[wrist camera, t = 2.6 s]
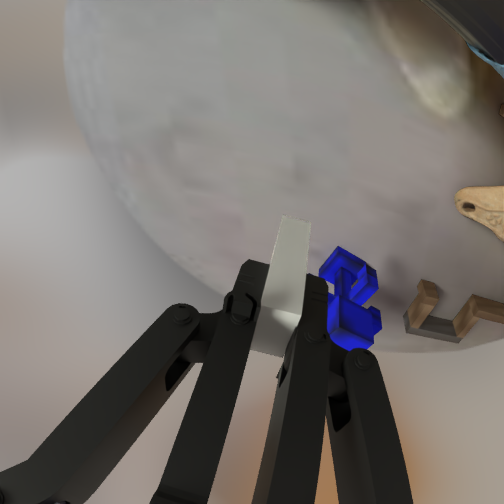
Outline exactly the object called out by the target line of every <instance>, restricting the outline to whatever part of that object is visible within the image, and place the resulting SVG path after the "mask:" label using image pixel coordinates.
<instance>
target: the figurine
mask: <svg viewBox="0 0 504 504" xmlns="http://www.w3.org/2000/svg"><path fill="white" fill-rule="evenodd" d="M309 274H310V273H309ZM310 275H312V274H310ZM319 277H321V278H324V279H325V280H326V281H328V282H330V283H332V284H334V295H333V294H331V293H329V292H328V317H327V331H328V333H329V335H330V338H331V339H332V341H333V342H334V343H336V344H337V345H339V346H340V347H342V348H344V349H346V350H348V351H351V350H352V349H353V348H365V349H368V348H369V347H370V346H371V345H373V344H374V335H375V334H376V333H378V332H379V331H380V330H381V329H382V323H381V314H380V310H378V309H376V308H375V307H373V306H370V307H369V308H368V309H366V308H364V307H362V305H363V304H364V303H365V302H366V301H367V300H368V299H369V298H370V297H371V296H372V295H373V294H374V293H375V292H376V291H377V290H378V289H379V287H378V281H377V274H376V270H374V269H373V268H371V267H369V266H367V265H366V262H365V261H363V260H361V259H360V258H358V257H356V256H354V255H353V254H351V253H349V252H348V251H346V250H344V249H342V248H341V247H339V246H338V247H337V248H336V249H335V250H334V252H333V253H332V254H331V255H330V256H329V258H328V259H327V260H326V261H325V263H324V264H323V265H322V266H321V267H320V269H319ZM357 279H358V283H357V284H356V285H355V286H354V287H353V288H351V285H352V284H353V283H354V282H355V281H356V280H357Z"/></svg>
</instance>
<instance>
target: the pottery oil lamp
mask: <svg viewBox="0 0 504 504" xmlns="http://www.w3.org/2000/svg"><path fill="white" fill-rule="evenodd" d="M454 201H455V205H456V208H457V209H458V211H459V212H460V213H461V214H462V215H464V216H466V217H468V218H470V219H472V220H475V221H477V222H479V223H481V224H483V225H485V226H486V227H488V228H490V229H491V230H492V231H493V232H494V234H495V235H496V236H497V237H498V238H499V239H500V240H501V241H503V242H504V186H475V187H474V186H472V187H465V188H463V189H461V190H459V191H458V192H457V193H456V194H455V197H454Z"/></svg>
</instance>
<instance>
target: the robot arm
mask: <svg viewBox="0 0 504 504" xmlns="http://www.w3.org/2000/svg"><path fill="white" fill-rule="evenodd" d="M420 1H422V2H423V3H424V4H425V5H427V6H428V7H429V8H430V9H432V10H433V11H434V12H435V13H436V14H437V15H439V16H440V17H441V18H442V19H443V20H444V21H445V22H447V23H448V24H449V25H450V26H451V27H452V28H453V29H454V30H455V31H456V32H457V33H458V34H459V35H460V36H462V37H463V38H464V40H465V41H466V43H467V45H468V47H469V48H470V49H471V50H472V51H473V52H474V53H475V54H476V55H477V56H478V57H480V58H481V59H482V60H484V61H485V62H487V63H489V64H490V65H491V66H492V67H493V68H494V69H495V70H496V71H497V72H498V73H499V74H500V75H501V76H502V77H503V79H504V0H420ZM310 229H311V222H308V221H305V220H301V219H297V218H294V217H290V216H286V215H283V217H282V220H281V224H280V228H279V232H278V236H277V239H276V243H275V247H274V251H273V254H272V258H271V262H270V265H269V264H265V263H261V262H258V261H254V260H250V259H249V260H247V261H246V262H245V263H244V264H242V266H241V269H240V271H239V274H238V277H237V280H236V282H235V285H234V287H233V290H232V291H231V292H229V293H227V295H226V296H225V298H224V304H223V310H221V311H219V312H216V313H199V312H198V311H197V309H195V308H194V307H193V306H191V305H188V304H180V303H178V304H175V305H172V306H170V307H169V308H167V309H166V310H165V312H164V313H163V314H162V315H161V316H160V317H159V318H158V319H157V320H156V321H155V322H154V323H153V324H152V325H151V326H150V327H149V328H148V329H147V330H146V332H144V333H143V335H142V336H141V337H140V338H139V339H138V340H137V341H136V342H135V343H134V344H133V345H132V346H131V347H130V348H129V349H128V350H127V351H126V353H125V354H124V355H123V356H122V357H121V358H120V359H119V360H118V361H117V362H116V363H115V364H114V365H113V366H112V367H111V369H110V370H109V371H108V372H107V373H106V374H105V375H104V376H103V377H102V378H101V379H100V380H99V381H98V382H97V384H96V385H95V386H94V387H93V388H92V389H91V390H90V391H89V392H88V393H87V394H86V396H85V397H84V398H83V399H82V400H81V401H80V402H79V403H78V404H77V405H76V406H75V407H74V409H73V410H72V411H71V412H70V413H69V414H68V415H67V416H66V417H65V419H64V420H63V421H62V422H61V423H60V424H59V425H58V426H57V427H56V428H55V430H54V431H53V432H52V433H51V434H50V435H49V436H48V437H47V438H46V440H45V441H44V442H43V443H42V444H41V445H40V446H39V448H38V449H37V450H36V451H35V452H34V453H33V454H32V455H31V457H30V458H29V459H28V460H26V461H24V462H22V463H20V464H18V465H16V466H13V467H11V468H9V469H6V470H4V471H2V472H0V504H83V503H84V502H86V500H88V499H89V498H90V496H91V495H92V494H93V493H94V492H95V491H96V490H97V489H98V487H99V486H100V485H101V484H102V482H103V481H104V480H105V479H106V477H107V476H108V475H109V474H110V472H111V471H112V470H113V468H114V467H115V466H116V465H117V464H118V462H119V461H120V460H121V459H122V457H123V456H124V455H125V453H126V452H127V451H128V450H129V449H130V447H131V446H132V445H133V443H134V442H135V441H136V440H137V438H138V437H139V436H140V434H141V433H142V432H143V431H144V429H145V428H146V427H147V426H148V424H149V423H150V422H151V420H152V419H153V418H154V417H155V415H156V414H157V413H158V411H159V410H160V409H161V407H162V406H163V405H164V404H165V402H166V401H167V400H168V398H169V397H170V396H171V394H172V393H173V392H174V390H175V389H176V388H177V387H178V385H179V384H180V383H181V381H182V380H183V379H184V377H185V376H186V375H187V373H188V372H189V371H190V370H191V368H192V367H193V366H194V364H195V363H203V366H202V369H201V371H200V374H199V377H198V380H197V382H196V385H195V388H194V391H193V393H192V396H191V399H190V401H189V404H188V407H187V409H186V412H185V415H184V418H183V420H182V423H181V426H180V429H179V431H178V434H177V437H176V440H175V442H174V445H173V448H172V451H171V454H170V456H169V459H168V462H167V465H166V467H165V470H164V473H163V476H162V478H161V482H160V484H159V487H158V489H157V490H156V492H155V493H154V495H153V497H152V499H151V501H150V504H207V502H208V498H209V495H210V492H211V488H212V485H213V481H214V478H215V474H216V471H217V467H218V464H219V460H220V457H221V453H222V449H223V446H224V443H225V439H226V435H227V432H228V428H229V425H230V421H231V417H232V413H233V410H234V407H235V403H236V399H237V395H238V392H239V388H240V385H241V381H242V377H243V373H244V370H245V366H246V362H247V358H248V354H249V351H250V350H254V351H258V352H262V353H266V354H270V355H274V356H278V357H282V358H283V356H284V354H285V356H284V362H283V364H282V366H281V368H280V370H279V372H278V374H277V377H276V378H278V384H277V389H276V394H275V399H274V404H273V409H272V414H271V419H270V424H269V429H268V434H267V438H266V443H265V448H264V452H263V457H262V461H261V465H260V470H259V474H258V478H257V483H256V487H255V491H254V495H253V500H252V504H314V502H315V496H316V489H317V483H318V475H319V468H320V461H321V452H322V444H323V435H324V425H325V416H326V419H327V425H328V431H329V437H330V444H331V450H332V457H333V464H334V471H335V478H336V485H337V493H338V500H339V504H413V499H412V495H411V489H410V484H409V479H408V474H407V470H406V465H405V461H404V457H403V452H402V448H401V444H400V440H399V435H398V432H397V428H396V424H395V420H394V416H393V413H392V409H391V405H390V402H389V398H388V395H387V391H386V388H385V384H384V381H383V377H382V374H381V371H380V367H379V364H378V361H377V359H376V357H375V355H373V354H372V353H371V352H370V351H369V350H367V349H365V348H353V349H352V350H351V351H348V350H346V349H344V348H342V347H340V346H339V345H337V344H336V343H334V342H333V341H332V339H331V338H330V335H329V333H328V331H327V317H328V285H327V283H326V281H325V279H324V278H321V277H317V276H314V275H310V274H306V271H307V261H308V251H309V240H310Z"/></svg>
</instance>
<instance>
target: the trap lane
mask: <svg viewBox="0 0 504 504" xmlns="http://www.w3.org/2000/svg"><path fill="white" fill-rule="evenodd" d="M499 115H501V116H503V117H504V105H503V104H502V105H501V108H500V111H499ZM417 288H418V292H419V293H418V295H417V297H416V298H415V300H414V301H413V303H412V304H411V306H410V307H409V309H408V310H407V312H406V313H405V314H404V316H403V318H404V323H405V329H406V333H409V334H414V335H419V336H424V337H428V338H433V339H438V340H443V341H448V342H453V343H459V342H460V341H461V340H462V339H463V337H464V336H465V335H466V334H467V333H468V332H469V330H470V329H471V328H472V327H473V326H474V324H475V323H476V322H477V321H478V319H479V318H482V319H486V320H490V321H494V322H498V323H502V324H504V304H503V303H499V302H496V301H493V300H489V299H486V298H483V297H479V296H476V295H473V294H472V296H471V297H470V298H469V300H468V301H467V303H466V304H465V305H464V307H463V308H462V309H461V311H460V312H459V313H458V315H457V316H456V317H455V318H454V320H453V321H450V320H445V319H441V318H437V317H433V316H429V313H430V312H431V310H432V309H433V308H434V306H435V305H436V303H437V302H438V301H439V297H438V294H437V291H436V288H435V285H434V283H432V282H429V281H425V280H422V279H421V281H420V283H419V284H418V286H417Z"/></svg>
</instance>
